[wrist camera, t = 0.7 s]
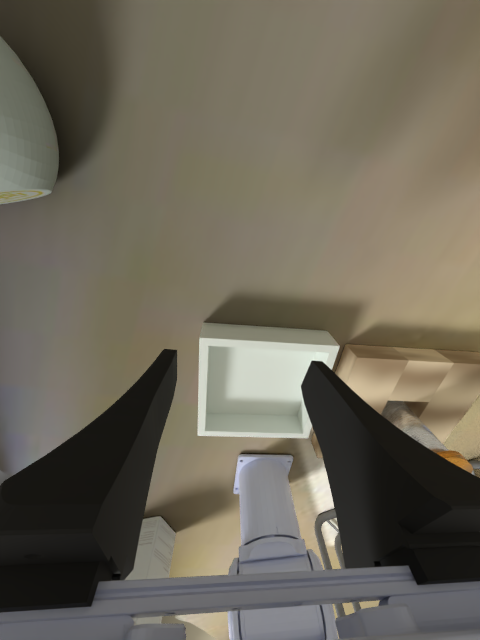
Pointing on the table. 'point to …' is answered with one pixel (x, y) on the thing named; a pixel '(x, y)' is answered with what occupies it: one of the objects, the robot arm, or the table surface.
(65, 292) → the table surface
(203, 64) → the table surface
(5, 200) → the air freshener
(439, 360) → the pin plate
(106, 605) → the robot arm
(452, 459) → the pin
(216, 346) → the tray
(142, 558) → the supplement box
